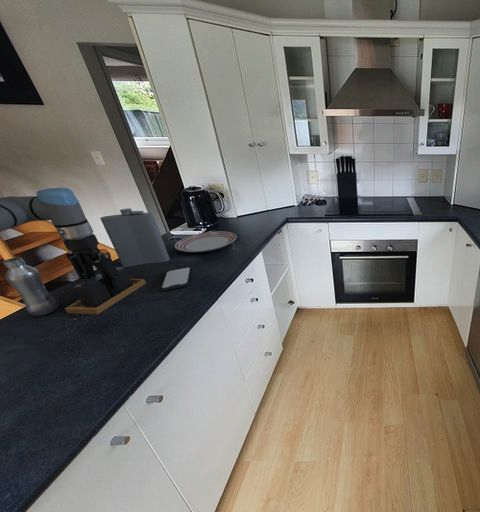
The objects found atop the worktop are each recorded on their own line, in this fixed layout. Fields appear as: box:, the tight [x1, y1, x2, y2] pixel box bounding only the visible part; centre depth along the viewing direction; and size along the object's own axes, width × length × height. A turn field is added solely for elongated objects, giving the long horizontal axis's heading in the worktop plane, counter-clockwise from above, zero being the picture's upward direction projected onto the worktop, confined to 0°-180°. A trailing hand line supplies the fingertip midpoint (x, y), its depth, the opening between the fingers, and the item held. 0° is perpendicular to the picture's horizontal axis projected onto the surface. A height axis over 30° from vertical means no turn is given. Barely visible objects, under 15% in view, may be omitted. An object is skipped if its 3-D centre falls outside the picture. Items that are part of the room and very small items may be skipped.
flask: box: [99, 207, 171, 268], centre depth 119 cm, size 17×5×25 cm, turn 111°
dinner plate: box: [174, 231, 238, 254], centre depth 141 cm, size 27×27×3 cm
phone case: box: [160, 267, 192, 292], centre depth 111 cm, size 9×2×16 cm
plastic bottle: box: [2, 256, 60, 317], centre depth 87 cm, size 6×7×20 cm
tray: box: [64, 278, 147, 315], centre depth 100 cm, size 11×20×2 cm, turn 177°
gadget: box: [72, 266, 133, 307], centre depth 98 cm, size 14×5×8 cm, turn 177°
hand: (109, 294), depth 100 cm, fingers closed on gadget, 5 cm apart
